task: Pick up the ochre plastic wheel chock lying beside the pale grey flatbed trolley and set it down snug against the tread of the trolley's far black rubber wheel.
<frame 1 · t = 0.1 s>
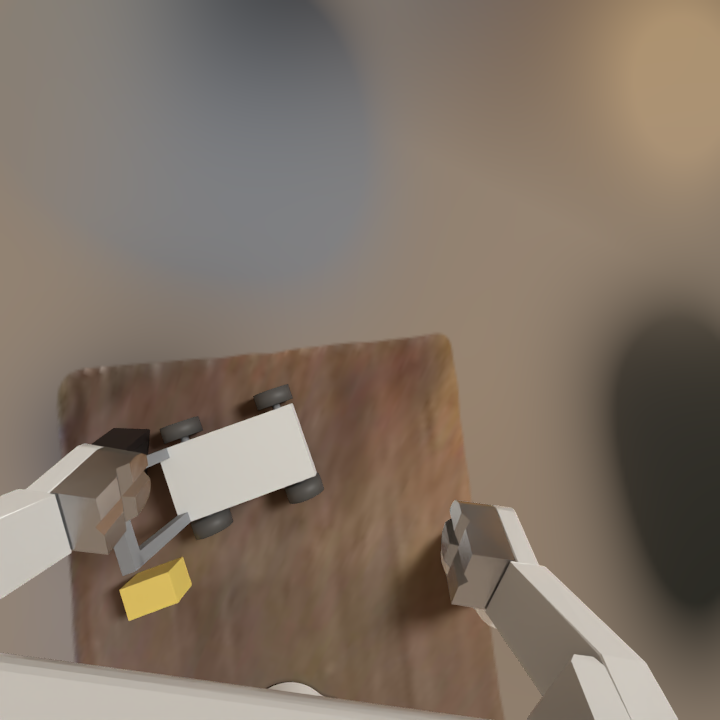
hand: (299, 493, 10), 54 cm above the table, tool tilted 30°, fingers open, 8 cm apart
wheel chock: (165, 578, 61), on the table
flatbed trolley: (248, 455, 63), on the table
phone stand: (131, 454, 62), on the table
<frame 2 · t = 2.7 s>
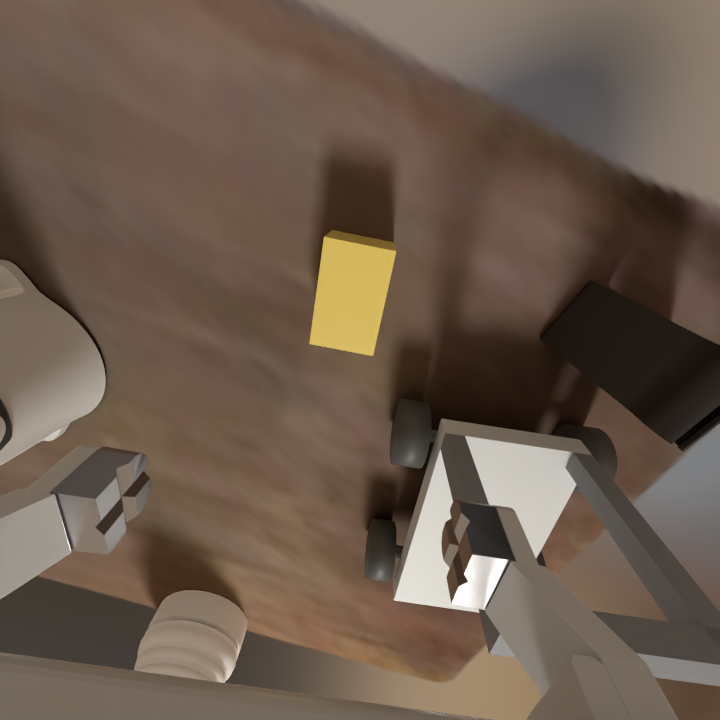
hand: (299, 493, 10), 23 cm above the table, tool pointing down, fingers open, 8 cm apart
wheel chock: (354, 284, 30), on the table
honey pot: (204, 616, 52), on the table
flatbed trolley: (464, 485, 39), on the table
phone stand: (600, 334, 31), on the table
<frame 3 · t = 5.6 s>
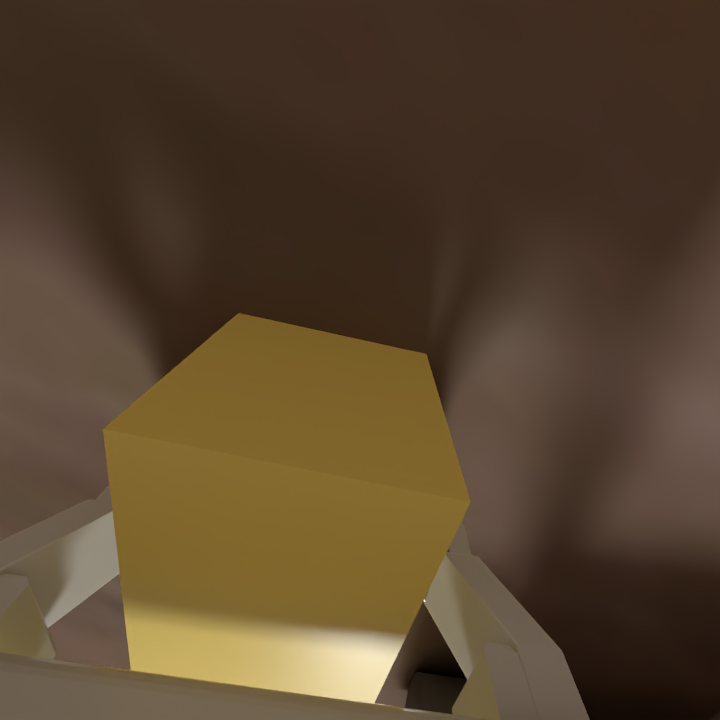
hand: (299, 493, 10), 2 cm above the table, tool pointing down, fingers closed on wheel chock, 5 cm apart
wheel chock: (310, 452, 11), on the table, touching gripper
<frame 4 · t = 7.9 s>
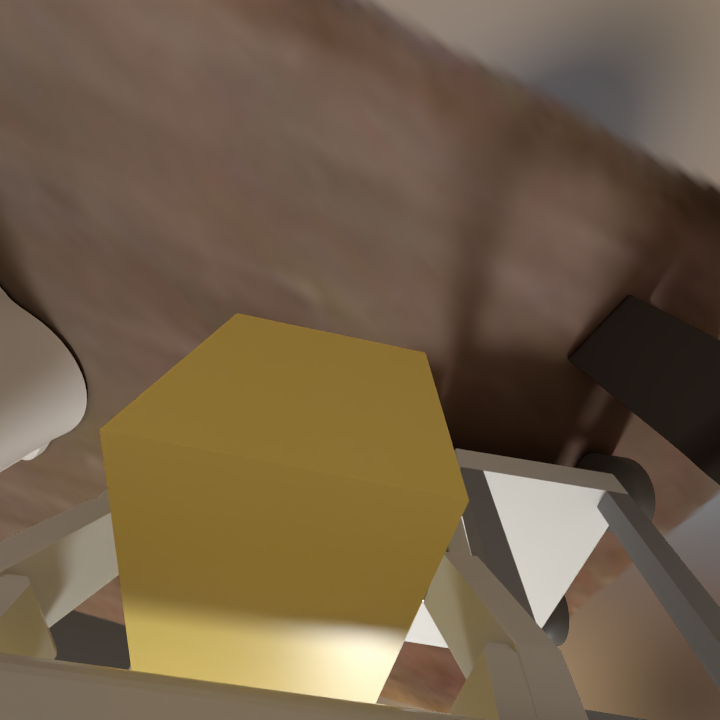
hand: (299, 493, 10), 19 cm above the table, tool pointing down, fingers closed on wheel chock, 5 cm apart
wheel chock: (310, 452, 11), point 18 cm above the table, touching gripper
flatbed trolley: (477, 515, 36), on the table
phone stand: (637, 354, 28), on the table
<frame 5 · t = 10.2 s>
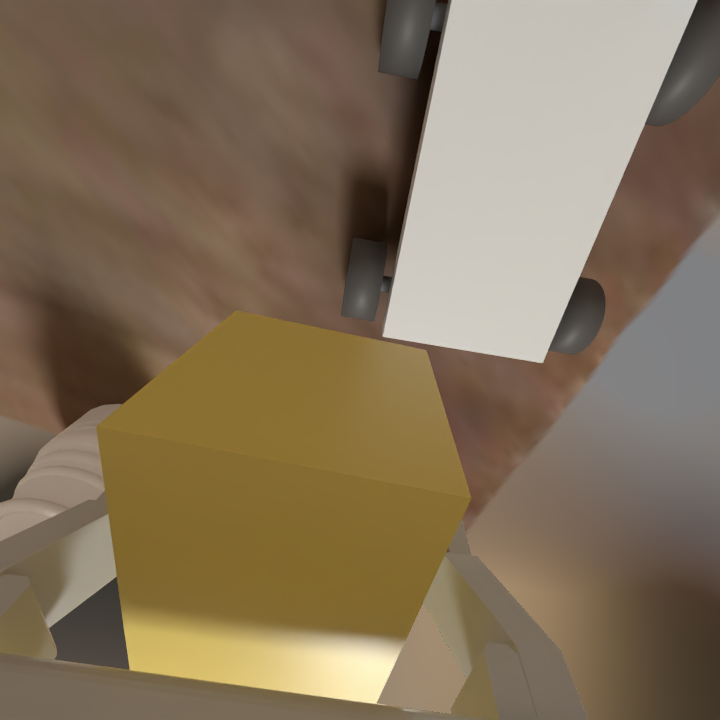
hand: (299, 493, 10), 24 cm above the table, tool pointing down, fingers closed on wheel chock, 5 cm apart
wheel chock: (310, 450, 11), point 22 cm above the table, touching gripper
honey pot: (135, 451, 40), on the table
flatbed trolley: (484, 186, 27), on the table
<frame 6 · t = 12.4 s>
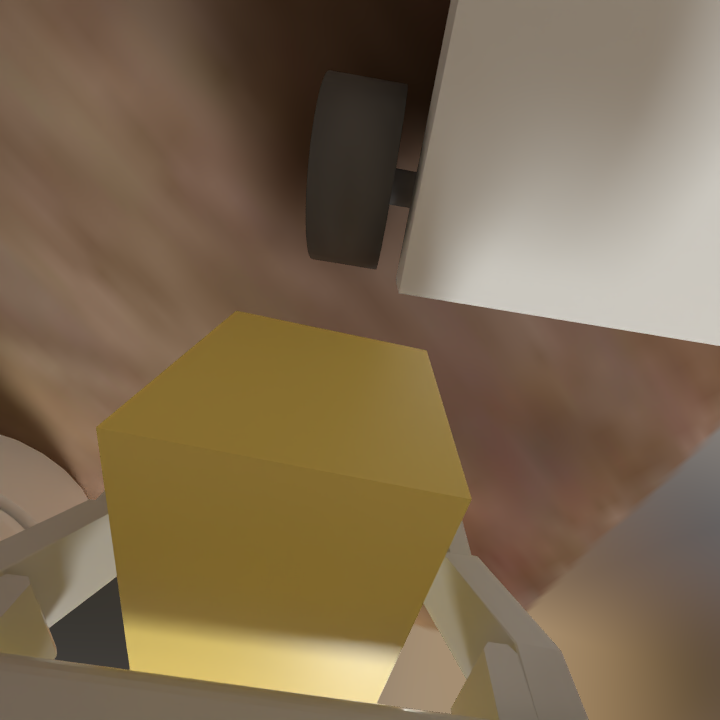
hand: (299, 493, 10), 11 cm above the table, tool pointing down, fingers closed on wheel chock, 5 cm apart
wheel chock: (310, 450, 11), point 9 cm above the table, touching gripper
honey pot: (7, 499, 26), on the table
when the fingers open (3 cm above the table, at t = 14.4 s): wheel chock drops 2 cm, on the table.
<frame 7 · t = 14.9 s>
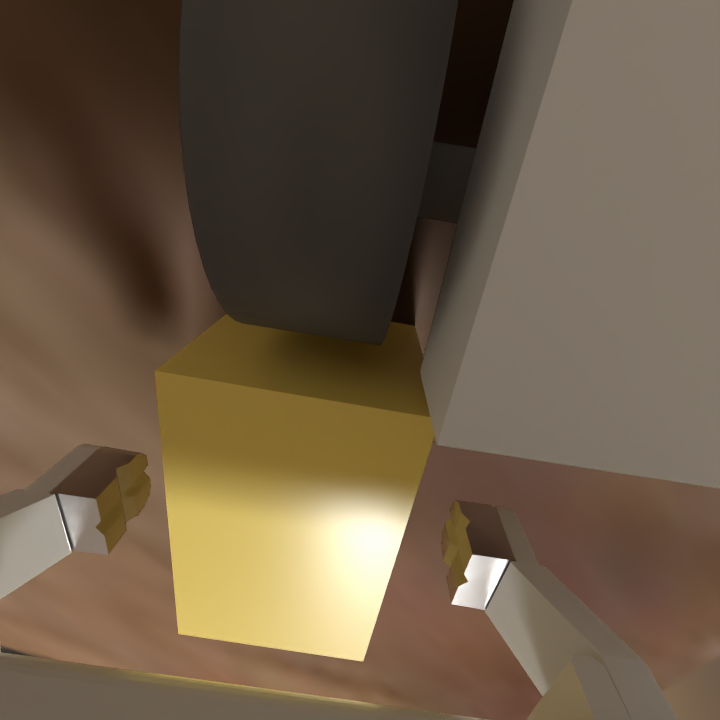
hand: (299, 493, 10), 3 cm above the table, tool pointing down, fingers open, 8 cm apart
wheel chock: (317, 419, 12), on the table
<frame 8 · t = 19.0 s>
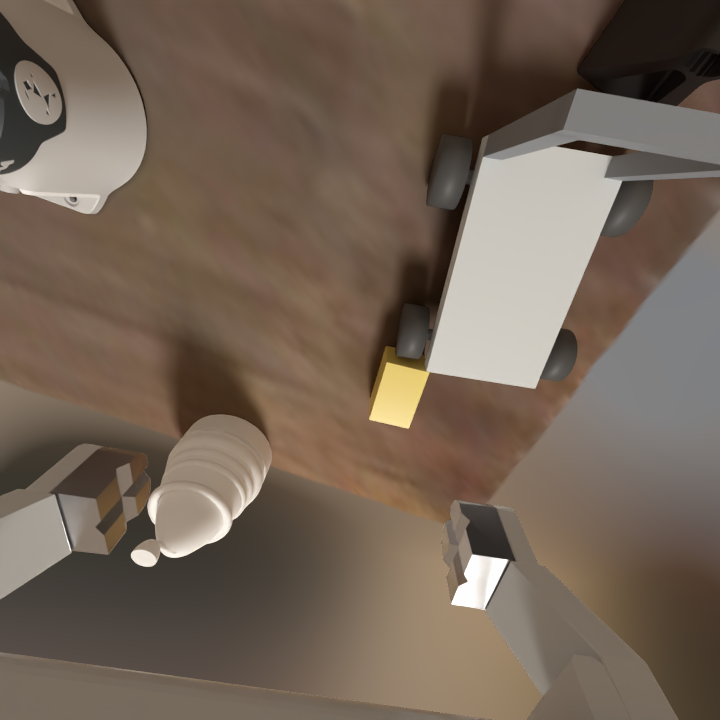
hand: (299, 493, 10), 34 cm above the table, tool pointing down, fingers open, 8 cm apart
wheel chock: (396, 377, 46), on the table
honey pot: (229, 449, 53), on the table
flatbed trolley: (495, 266, 40), on the table
phone stand: (636, 67, 32), on the table
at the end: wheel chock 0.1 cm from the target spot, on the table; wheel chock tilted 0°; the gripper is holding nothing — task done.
